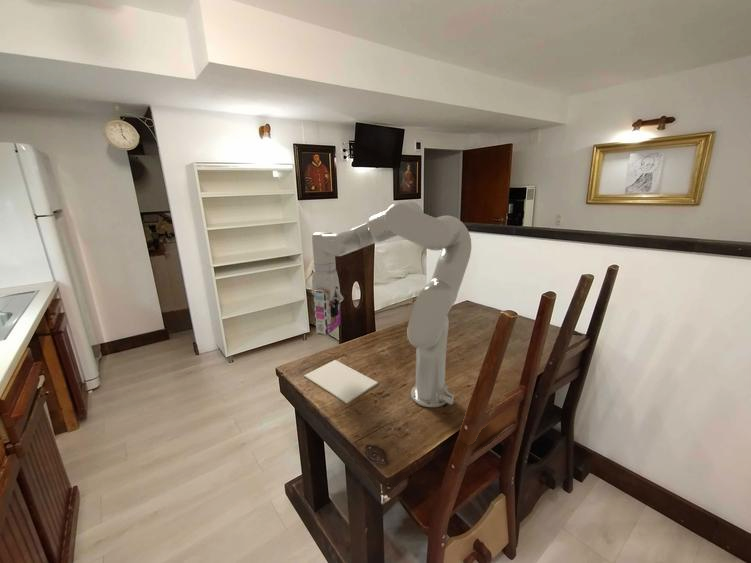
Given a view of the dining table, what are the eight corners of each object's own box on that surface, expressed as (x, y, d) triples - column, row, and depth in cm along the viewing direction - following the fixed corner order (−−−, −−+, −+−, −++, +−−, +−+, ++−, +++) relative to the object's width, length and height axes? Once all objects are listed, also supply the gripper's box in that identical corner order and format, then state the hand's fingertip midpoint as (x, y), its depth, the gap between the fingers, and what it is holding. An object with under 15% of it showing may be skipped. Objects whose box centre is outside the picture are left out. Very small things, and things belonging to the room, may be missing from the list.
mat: (377, 383, 117) (377, 382, 117) (346, 403, 107) (346, 402, 107) (335, 361, 133) (334, 359, 133) (304, 376, 123) (304, 375, 122)
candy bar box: (327, 336, 116) (324, 292, 111) (315, 334, 118) (312, 291, 113) (342, 324, 126) (339, 283, 121) (330, 322, 128) (328, 282, 123)
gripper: (300, 266, 117) (304, 312, 122) (335, 272, 107) (338, 323, 112) (316, 262, 123) (319, 306, 128) (350, 267, 113) (352, 316, 118)
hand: (328, 313), depth 120 cm, fingers closed on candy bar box, 5 cm apart
